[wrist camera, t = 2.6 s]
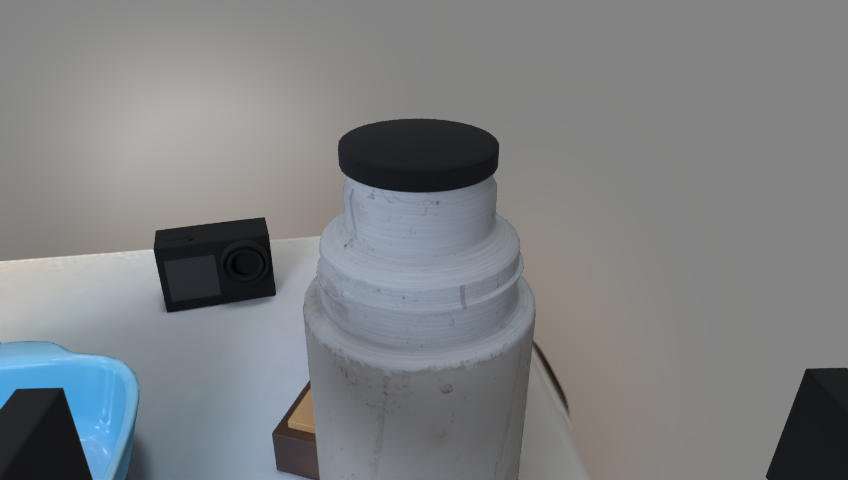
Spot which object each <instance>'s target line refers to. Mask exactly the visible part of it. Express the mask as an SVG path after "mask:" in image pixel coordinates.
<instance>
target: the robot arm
mask: <svg viewBox="0 0 848 480" xmlns="http://www.w3.org/2000/svg"><path fill="white" fill-rule="evenodd" d="M766 478H767V479H768V480H848V369H847V368H820V369H806V371H805V374H804V376H803V379H802V382H801V384H800V387H799V390H798V392H797V395H796V398H795V400H794V403H793V406H792V408H791V411H790V413H789V416H788V419H787V421H786V424H785V427H784V430H783V432H782V435H781V438H780V440H779V443H778V445H777V448H776V451H775V454H774V456H773V459H772V462H771V464H770V467H769V469H768V472H767V475H766ZM0 480H93V478H92V475H91V472H90V469H89V466H88V463H87V460H86V457H85V454H84V451H83V448H82V445H81V441H80V438H79V435H78V432H77V429H76V426H75V423H74V420H73V417H72V414H71V411H70V408H69V405H68V402H67V399H66V396H65V392H64V389H63V388H27V389H16V390H15V391H14V392H13V394H12V395H11V396H10V398H9V399H8V400H7V401H6V403H5V404H4V405H3V406H2V408H1V409H0Z"/></svg>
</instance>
